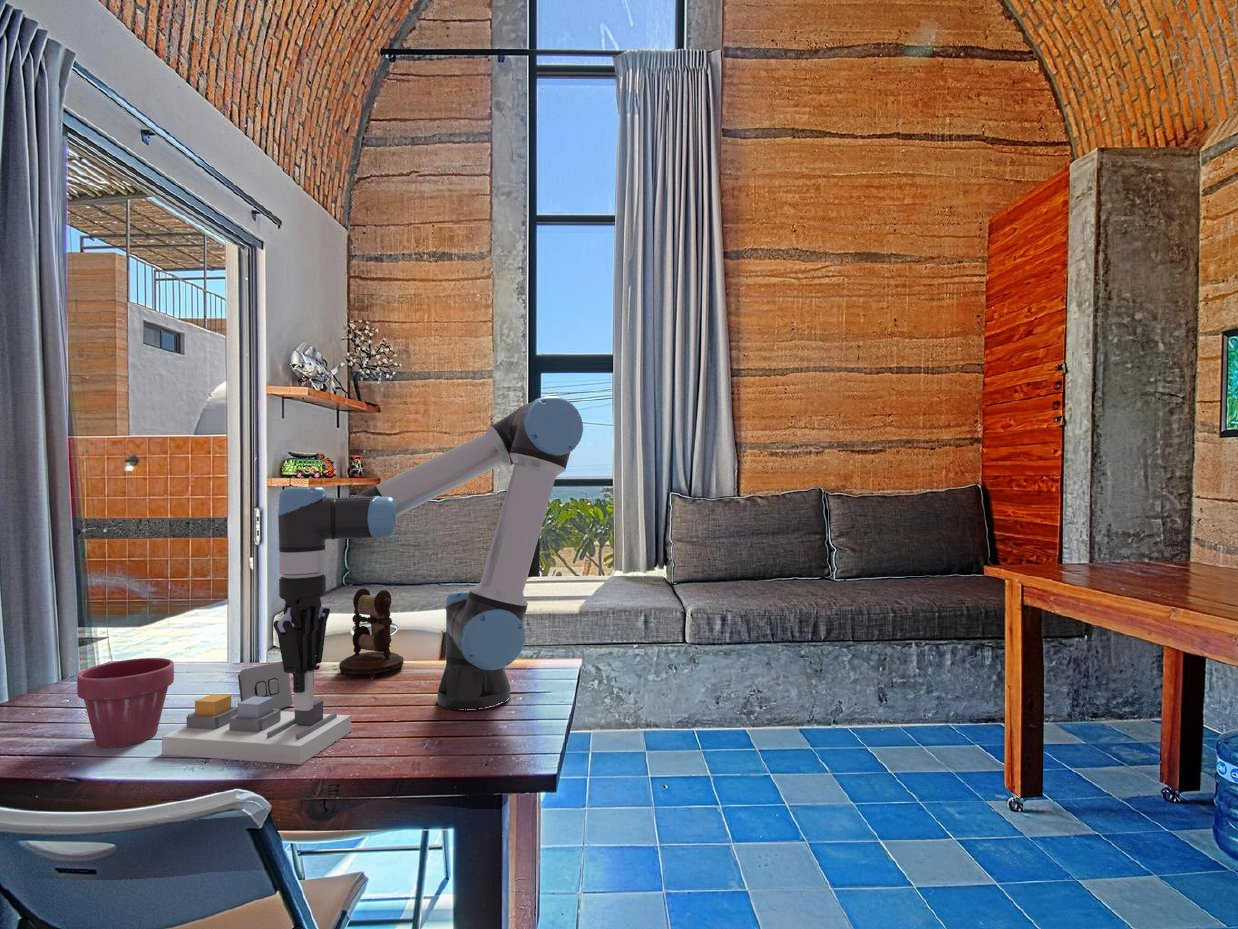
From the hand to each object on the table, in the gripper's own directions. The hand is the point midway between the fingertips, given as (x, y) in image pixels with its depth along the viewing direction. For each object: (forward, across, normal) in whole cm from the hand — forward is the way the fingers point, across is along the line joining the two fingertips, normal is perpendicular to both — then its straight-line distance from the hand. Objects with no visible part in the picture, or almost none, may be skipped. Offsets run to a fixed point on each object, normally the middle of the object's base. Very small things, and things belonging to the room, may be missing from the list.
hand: (303, 709), depth 122 cm
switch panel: (+6, 0, -8) cm, 10 cm away
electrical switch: (+6, -16, -20) cm, 26 cm away
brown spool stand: (+7, -46, -13) cm, 48 cm away
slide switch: (+3, -2, 0) cm, 4 cm away
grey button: (+1, 0, -9) cm, 9 cm away
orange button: (+1, 0, -18) cm, 18 cm away
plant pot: (+6, +2, -34) cm, 35 cm away
